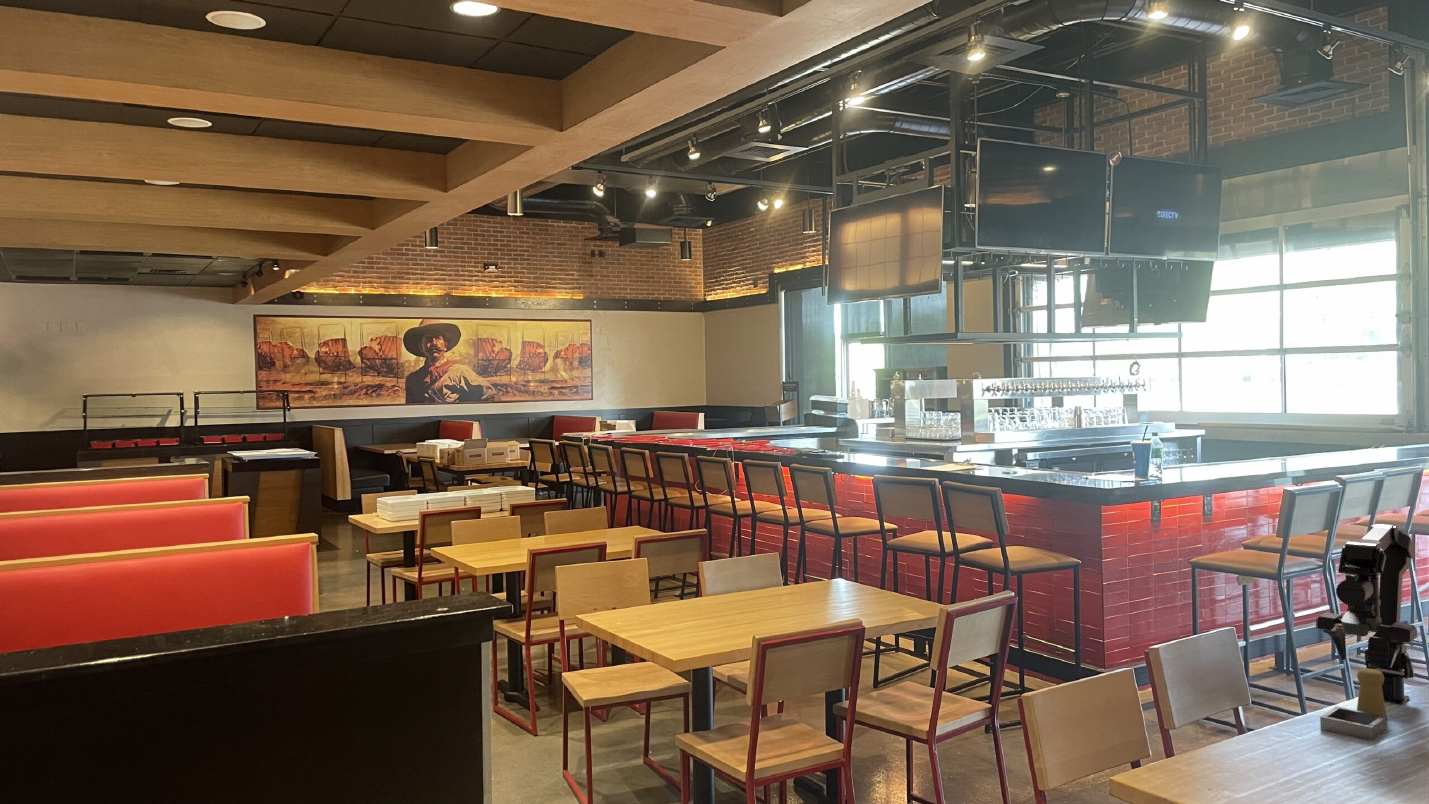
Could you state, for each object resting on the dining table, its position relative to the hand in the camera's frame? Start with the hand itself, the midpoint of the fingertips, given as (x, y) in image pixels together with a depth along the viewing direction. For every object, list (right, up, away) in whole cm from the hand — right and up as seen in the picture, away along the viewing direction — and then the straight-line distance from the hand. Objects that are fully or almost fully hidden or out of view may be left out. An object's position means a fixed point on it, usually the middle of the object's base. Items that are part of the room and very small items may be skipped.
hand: (1366, 663), depth 224 cm
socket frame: (-7, -13, -7) cm, 16 cm away
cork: (+2, -13, +1) cm, 13 cm away
